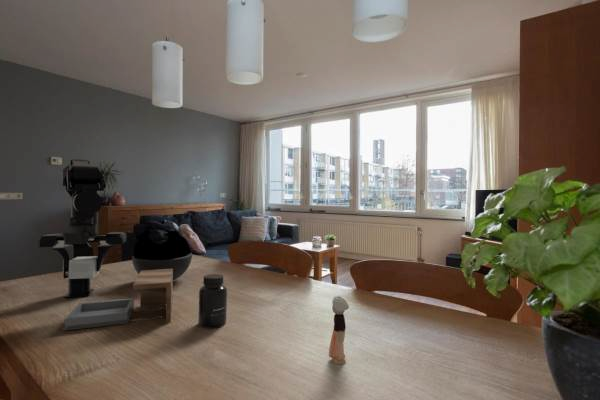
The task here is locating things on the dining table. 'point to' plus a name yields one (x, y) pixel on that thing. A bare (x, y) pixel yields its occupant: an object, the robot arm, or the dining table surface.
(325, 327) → the dining table surface
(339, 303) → the grandmother figurine
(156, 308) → the rails
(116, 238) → the robot arm
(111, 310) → the tray
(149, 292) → the shelf
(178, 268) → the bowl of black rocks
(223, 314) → the supplement bottle
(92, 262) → the small box
